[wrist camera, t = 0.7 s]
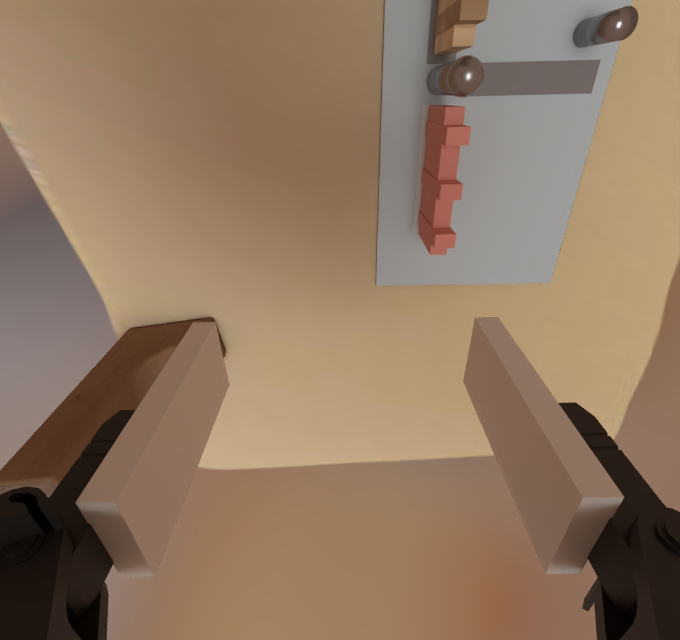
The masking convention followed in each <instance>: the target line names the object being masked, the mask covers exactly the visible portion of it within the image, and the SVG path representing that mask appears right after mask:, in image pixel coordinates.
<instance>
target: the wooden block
mask: <svg viewBox="0 0 680 640" xmlns="http://www.w3.org/2000/svg"><path fill="white" fill-rule="evenodd" d="M193 322H214V320H213V319H211V318H208V319H200V320H193V321H186V322H178V323H171V324H164V325H156V326H149V327H141V328H134V329H129V330H128V331H127V332H126V333H125V334H124V335H123V336H122V337H121V338H120V339H119V340H118V341H117V343H116V344H115V345H114V346H113V347H112V348H111V349H110V350H109V351H108V352H107V354H106V355H105V356H104V357H103V358H102V359H101V360H100V361H99V363H98V364H97V365H96V366H95V367H94V368H93V369H92V370H91V371H90V372H89V374H88V375H87V376H86V377H85V378H84V379H83V380H82V381H81V382H80V383H79V385H78V386H77V387H76V388H75V389H74V390H73V391H72V392H71V393H70V394H69V395H68V397H67V398H66V399H65V400H64V401H63V402H62V403H61V404H60V405H59V406H58V408H57V409H56V410H55V411H54V412H53V413H52V414H51V415H50V417H49V418H48V419H47V420H46V421H45V422H44V423H43V424H42V425H41V426H40V427H39V429H38V430H37V431H36V432H35V433H34V434H33V435H32V436H31V437H30V439H29V440H28V441H27V442H26V443H25V444H24V445H23V446H22V448H20V450H19V451H18V452H17V453H16V454H15V455H14V456H13V457H12V458H11V459H10V460H9V462H8V463H7V464H6V465H5V466H4V467H3V468H2V469H1V470H0V494H3V493H5V492H7V491H10V490H12V489H17V488H22V487H26V486H28V487H35V488H39V489H40V490H42V491H43V492H44V493H45V494H46V496H47V497H48V498H49V497H50V496H51V494H52V493H53V492H54V490H55V489H56V488H57V486H58V485H59V483H60V482H61V481H62V479H63V478H64V476H65V475H66V474H67V472H68V471H69V470H70V468H71V467H72V465H73V464H74V463H75V461H76V460H77V459H78V458H80V457H81V453H82V452H83V450H84V449H85V448H86V446H87V445H88V444H90V443H91V439H92V438H93V437H94V435H95V434H96V432H97V431H98V430H99V428H100V427H101V425H102V424H103V423H104V422H106V421H107V420H108V419H109V418H111V417H112V416H113V415H114V414H116V413H117V412H118V411H119V410H136V409H137V408H138V406H139V404H140V403H141V401H142V400H143V398H144V397H145V395H146V394H147V392H148V391H149V389H150V388H151V386H152V385H153V383H154V381H155V380H156V378H157V377H158V375H159V374H160V372H161V371H162V369H163V368H164V366H165V365H166V363H167V362H168V360H169V358H170V357H171V355H172V354H173V352H174V351H175V349H176V348H177V346H178V345H179V343H180V342H181V340H182V339H183V337H184V335H185V334H186V332H187V331H188V329H189V328H190V326H191V325H192V323H193ZM218 336H219V333H218ZM219 341H220V345H221V350H222V354H223V358H224V356H225V349H224V346H223V344H222V341H221V339H220V336H219Z"/></svg>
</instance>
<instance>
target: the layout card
mask: <svg viewBox="0 0 680 640" xmlns="http://www.w3.org/2000/svg"><path fill="white" fill-rule="evenodd" d="M438 1H439V0H385V6H384V38H383V70H382V102H381V135H380V167H379V199H378V231H377V264H376V286H406V285H466V284H525V283H550V282H551V279H552V275H553V272H554V268H555V265H556V261H557V258H558V255H559V251H560V248H561V244H562V241H563V237H564V234H565V230H566V227H567V223H568V220H569V217H570V213H571V210H572V206H573V203H574V199H575V196H576V192H577V189H578V185H579V182H580V179H581V175H582V172H583V168H584V165H585V161H586V158H587V154H588V151H589V147H590V144H591V141H592V137H593V134H594V130H595V127H596V123H597V120H598V116H599V113H600V109H601V106H602V103H603V99H604V96H605V92H606V89H607V85H608V82H609V78H610V75H611V71H612V68H613V65H614V61H615V58H616V54H617V51H618V47H619V44H620V41H615V42H610V43H605V44H600V45H595V46H590V47H584V48H579V47H577V46H576V45H575V44H574V42H573V33H574V30H575V28H576V26H577V25H578V24H579V23H580V22H581V21H582V20H584V19H587V18H590V17H593V16H596V15H600V14H603V13H606V12H609V11H612V10H616V9H619V8H622V7H625V6H631V2H632V0H489V5H488V12H487V19H486V20H485V21H483V22H481V23H479V24H477V25H476V30H475V38H474V46H473V47H470V48H467V49H464V50H462V51H459V52H456V53H454V54H444V55H434V47H435V37H434V29H435V18H436V17H437V12H438ZM465 55H472V56H475V57H477V58H478V59H479V60H480V61H481V62H482V64H483V66H484V79H483V82H482V85H481V86H480V88H479V89H478V90H477V91H476V92H475V93H474V94H473V95H471V96H468V97H464V98H461V97H457V96H449V95H433V94H431V93H430V92H429V90H428V88H427V84H426V80H427V76H428V74H429V72H430V71H431V70H432V69H433V68H434V67H436V66H439V65H442V64H446V63H449V62H452V61H455V60H457V59H458V58H460V57H462V56H465ZM429 105H452V106H463V107H465V115H464V123H463V125H466V126H470V127H471V133H470V140H469V145H462V146H460V153H459V161H458V169H457V176H456V179H457V180H458V181H460V182H461V183H462V184H463V190H462V197H461V200H453V207H452V215H451V223H450V227H451V228H452V230H453V231H454V232H455V233H456V240H455V247H454V248H447V253H446V255H430V254H429V252H428V250H427V249H426V247H425V245H424V243H423V241H422V240H421V238H420V236H419V234H418V230H419V223H418V216H419V210H420V207H421V196H422V184H423V182H422V169H423V168H424V161H425V150H426V138H427V137H426V136H425V134H426V123H427V121H428V115H429Z"/></svg>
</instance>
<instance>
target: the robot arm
mask: <svg viewBox="0 0 680 640" xmlns="http://www.w3.org/2000/svg"><path fill="white" fill-rule="evenodd" d="M463 382H464V384H465V387H466V389H467V391H468V394H469V396H470V398H471V401H472V403H473V405H474V408H475V410H476V412H477V415H478V417H479V420H480V422H481V424H482V427H483V429H484V431H485V434H486V436H487V438H488V441H489V443H490V445H491V448H492V450H493V452H494V455H495V457H496V460H497V462H498V464H499V467H500V469H501V471H502V474H503V476H504V478H505V481H506V483H507V485H508V487H509V490H510V492H511V495H512V497H513V499H514V502H515V504H516V507H517V509H518V511H519V514H520V516H521V518H522V521H523V523H524V525H525V528H526V530H527V532H528V535H529V537H530V540H531V542H532V544H533V546H534V549H535V551H536V554H537V556H538V558H539V561H540V563H541V565H542V568H543V570H544V572H545V574H580V572H581V571H582V569H583V567H584V565H585V564H586V562H587V560H589V562H590V563H591V565H592V567H593V569H594V571H595V572H596V575H597V577H598V578H597V580H596V581H595V583H594V584H593V586H592V587H591V589H590V591H589V592H588V594H587V595H586V597H585V598H584V603H583V609H585V610H587V611H589V609H590V608H591V606H592V605H593V603H594V604H595V617H596V631H597V640H680V512H678V511H676V510H674V509H672V508H667V507H666V506H665V505H664V504H663V503H662V502H661V500H660V499H659V498H658V497H657V495H656V494H655V493H654V492H653V490H652V489H651V488H650V486H649V485H648V484H647V483H646V481H645V480H644V479H643V478H642V476H641V475H640V474H639V472H638V471H637V470H636V469H635V467H634V466H633V465H632V463H631V462H630V461H629V460H628V458H627V457H626V456H625V455H624V453H623V452H622V451H621V450H619V449H618V446H617V444H616V443H615V442H614V441H613V439H612V438H611V437H610V436H608V435H607V432H606V430H605V429H604V428H603V427H602V425H601V424H600V423H599V422H598V420H597V419H596V418H595V416H593V415H592V414H591V413H589V412H588V411H586V410H585V409H584V408H582V407H581V406H580V405H578V404H577V403H558V402H557V401H556V399H555V398H554V396H553V395H552V394H551V392H550V391H549V389H548V388H547V386H546V385H545V384H544V382H543V381H542V379H541V378H540V376H539V375H538V374H537V372H536V371H535V369H534V368H533V367H532V365H531V364H530V362H529V361H528V359H527V358H526V357H525V355H524V354H523V352H522V351H521V349H520V348H519V347H518V345H517V344H516V342H515V341H514V339H513V338H512V337H511V335H510V334H509V332H508V331H507V330H506V328H505V327H504V325H503V324H502V322H501V321H500V320H499V318H498V317H487V318H475V321H474V326H473V332H472V337H471V342H470V348H469V353H468V358H467V364H466V369H465V374H464V380H463ZM228 386H229V381H228V377H227V372H226V368H225V363H224V359H223V354H222V350H221V345H220V341H219V336H218V331H217V327H216V322H193V323H192V325H191V326H190V328H189V329H188V331H187V332H186V334H185V335H184V337H183V339H182V340H181V342H180V343H179V345H178V346H177V348H176V349H175V351H174V352H173V354H172V355H171V357H170V358H169V360H168V362H167V363H166V365H165V366H164V368H163V369H162V371H161V372H160V374H159V375H158V377H157V378H156V380H155V381H154V383H153V385H152V386H151V388H150V389H149V391H148V392H147V394H146V395H145V397H144V398H143V400H142V401H141V403H140V404H139V406H138V408H137V409H136V410H119V411H118V412H117V413H116V414H114V415H113V416H112V417H111V418H109V419H108V420H107V421H106V422H104V423H103V424H102V425H101V427H100V428H99V430H98V431H97V432H96V434H95V435H94V437H93V438H92V439H91V443H90V444H88V445H87V446H86V448H85V449H84V450H83V452H82V453H81V457H80V458H78V459H77V460H76V461H75V463H74V464H73V465H72V467H71V468H70V470H69V471H68V472H67V474H66V475H65V476H64V478H63V479H62V481H61V482H60V483H59V485H58V486H57V488H56V489H55V490H54V492H53V493H52V494H51V496H50V497H49V498H48V497H47V496H46V494H45V493H44V492H43V491H42V490H40V489H39V488H35V487H28V486H26V487H22V488H17V489H12V490H10V491H7V492H5V493H3V494H0V640H106V639H107V618H108V590H107V585H106V584H105V582H104V581H105V579H106V577H107V575H108V573H109V571H110V569H111V567H112V565H114V566H115V568H116V569H117V571H118V572H119V574H120V576H121V577H155V575H156V572H157V570H158V567H159V565H160V562H161V559H162V557H163V554H164V552H165V549H166V547H167V544H168V541H169V539H170V536H171V534H172V531H173V528H174V526H175V523H176V521H177V518H178V515H179V513H180V510H181V508H182V505H183V503H184V500H185V497H186V495H187V492H188V490H189V487H190V484H191V482H192V479H193V477H194V474H195V471H196V469H197V466H198V464H199V461H200V459H201V456H202V454H203V451H204V448H205V446H206V443H207V441H208V438H209V436H210V433H211V430H212V428H213V425H214V423H215V420H216V417H217V415H218V412H219V410H220V407H221V405H222V402H223V399H224V397H225V394H226V392H227V389H228Z"/></svg>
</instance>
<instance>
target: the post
mask: <svg viewBox="0 0 680 640" xmlns="http://www.w3.org/2000/svg"><path fill="white" fill-rule="evenodd" d="M483 79H484V66H483V64H482V62H481V61H480V60H479V59H478V58H477V57H475V56H472V55H465V56H462V57H460V58H458V59H457V60H455V61H452V62H449V63H446V64H442V65H439V66H436V67H434V68H433V69H432V70H431V71H430V72H429V74H428V76H427V80H426V84H427V88H428V90H429V92H430V93H431V94H433V95H449V96H457V97H461V98H464V97H468V96H471V95H473V94H474V93H475V92H476V91H477V90H478V89H479V88H480V86H481V85H482V82H483Z"/></svg>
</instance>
